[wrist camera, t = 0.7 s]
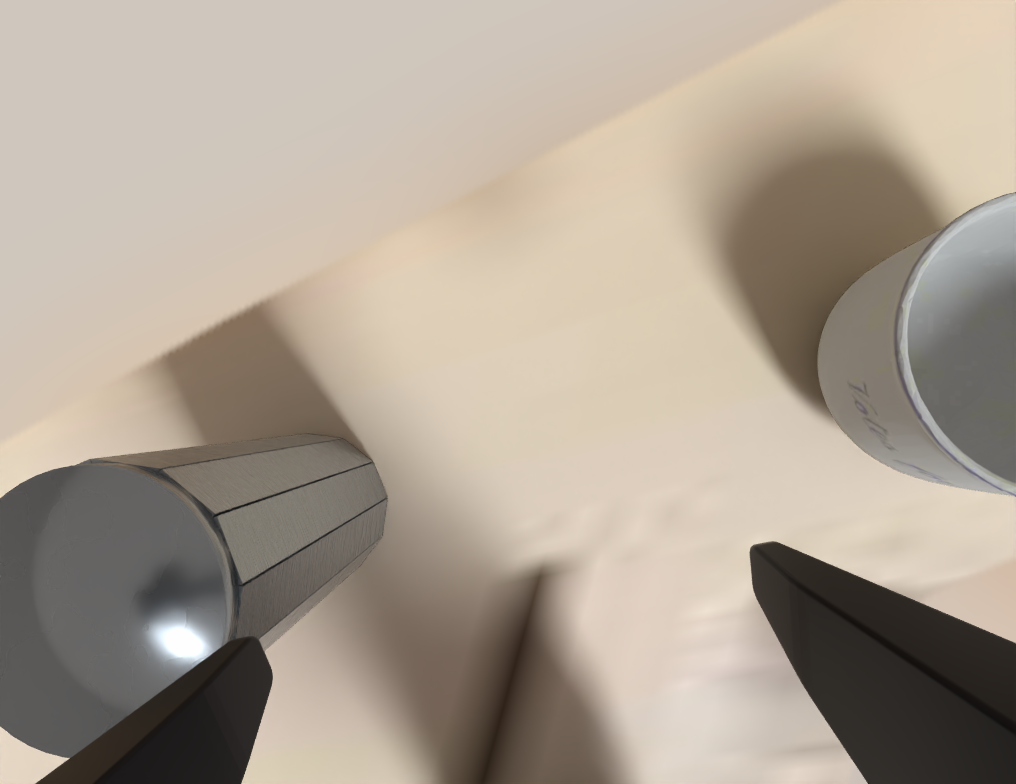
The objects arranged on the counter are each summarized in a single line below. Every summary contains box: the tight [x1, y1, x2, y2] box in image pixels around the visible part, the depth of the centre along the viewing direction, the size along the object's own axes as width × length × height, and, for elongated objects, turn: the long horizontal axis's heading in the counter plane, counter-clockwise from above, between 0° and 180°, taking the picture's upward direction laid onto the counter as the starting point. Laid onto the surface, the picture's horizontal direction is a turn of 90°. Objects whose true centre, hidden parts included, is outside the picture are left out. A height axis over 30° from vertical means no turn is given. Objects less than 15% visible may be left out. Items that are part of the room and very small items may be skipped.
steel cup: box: [0, 434, 388, 758], centre depth 19 cm, size 7×7×13 cm
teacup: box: [817, 192, 1016, 497], centre depth 20 cm, size 14×11×8 cm
